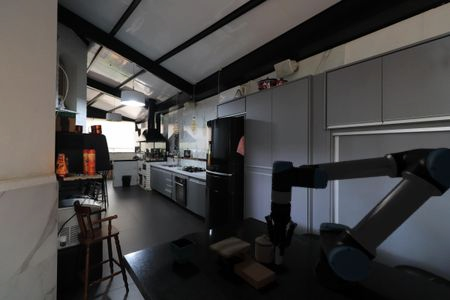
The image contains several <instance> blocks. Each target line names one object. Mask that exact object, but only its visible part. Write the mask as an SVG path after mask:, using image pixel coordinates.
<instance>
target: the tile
mask: <svg viewBox="0 0 450 300" xmlns="http://www.w3.org/2000/svg"><path fill="white" fill-rule="evenodd" d="M233 267H234V268H233V272H234V273H235V274H236V275H238V276H239V277H240V278H241V279H243V280H244V281H245V282H246V283H248V284H250V285H251V286H252V287H253V288H255V289H256V290H260V289H262V288H263V287H265V286H267V285H269V284H271V283H273V282H274V281H275V279H276V277H275V276H276V273H275V271H273V270H271V269H269V268H268V267H266V266H264V265H263V264H262V263H261V262H258V261H257V260H256V259H253V258H252V257H251V258H250V259H248V260H245V261H244V260H242V261H241V262H238V263H236V264H234V265H233Z"/></svg>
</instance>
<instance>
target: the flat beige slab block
mask: <svg viewBox="0 0 450 300" xmlns="http://www.w3.org/2000/svg"><path fill="white" fill-rule="evenodd" d="M208 249H209V250H211V251H213V252H214V261H215V262H217V263H220V262H222V257H224V258H226V259H227V260H228V259H230V258H232V257H234V256H235V257H237V258H239V259H240V260H242V261H245V260H248V259H250V258H251V259H252V244H251V243H248V242H247V241H244V240H242V239H240V238H237V237H235V236H230V237H228V238H226V239H223V240H221V241H219V242H216V243H213V244H210V245H208Z"/></svg>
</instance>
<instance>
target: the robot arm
mask: <svg viewBox="0 0 450 300" xmlns="http://www.w3.org/2000/svg"><path fill="white" fill-rule="evenodd" d="M271 168H272V170H271V193H270V200H271V201H270V212H269V214H268V215H266V216H264V219H265V222H266V227H267V231H268V232H267V235H268V238H269V241H270V242H272V243H273V254H275V255H274V264H276V265H277V266H279V265H281V264H282V263H283V257H284V256H285V249H287V248H288V247H290V246H291V243H292V238H293V235H294V232H295V230H296V228H297V227H298V223H297V222H294V221H293V220H292V216H291V214H292V203H291V202H292V193H293V192H292V191H293V188H303V189H304V188H305V189H315V190H325V189H327V187H328V183H329V182H331V181H341V180H342V181H343V180H345V181H346V180H354V179H355V180H357V179H368V178H377V177H379V178H380V177H389V178H390V179H397V178H399V179H400V178H401V180H400V181H399V182H398V183H397V184H396V185H394V187H393V188H391V190H390V191H389V192H388V193H387V194H386V195H385V196H384V197H383V198H381V200H380V201H378V203H377V204H376V205H374V207H373V208H372V209H370V211H369V212H367V214H365V215H364V216H363V217H362V218H361V220H359V221H358V223H357V224H355V225H354V227H352V228H351V227H350V226H348V225H346V224H343V223H342V224H341V223H337V222H321V223H320V225H319V229H318V231H319V236H318V238H319V239H318V240H319V243H318V258H317V261H316V264H315V266H314V268H313V276H314V279H315V280H316V281H317V282H318V284H319V283H320V284H321V285H323V286H324V287H327V288H328V289H330V290H333V291H338V292H339V291H340V292H349V291H352V290H354V289H355V287H356V285H355V284H356V283H355V282H360V281H363V280H365V279H366V278H367V277H368V276H369V275H370V274H371V270H372V269H371V267H372V265H371V262H372V261H373V260H374V259H376V258H377V255H378V254H377V248H378V247H380V245H382V244H383V243H384V242H385V241H386V240H387V239H388V238H389V237H390V236H392V234H393V233H395V231H397V229H399V228H400V227H401V226H402V225H404V223H405V222H406V221H407V220H408V219H409V218H411V216H413V215H414V214H415V212H417V211H418V210H419V209H420V208H421V207H422V206H423V205H425V203H427V201H429V200H430V198H432V197H433V198H434V197H441V196H443V195H444V194H446V192H447V191H449V190H450V148H448V147H437V148H433V147H432V148H427V147H426V148H423V147H419V148H414V149H408V150H404V151H397V152H391V153H386V154H385V155H384V156H380V157H378V156H377V157H368V158H361V159H349V160H343V161H341V160H340V161H332V162H325V163H323V162H322V163H316V164H315V163H314V164H301V165H299V166H294V162H292V161H288V160H287V161H286V160H275V161H274V162H273V163H272V167H271ZM287 227H288V230H287Z"/></svg>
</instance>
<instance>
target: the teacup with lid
mask: <svg viewBox="0 0 450 300" xmlns="http://www.w3.org/2000/svg"><path fill="white" fill-rule="evenodd" d="M254 243H255V247H254V248H255V249H254V252H255V255H254V258H255V259H254V260H255V261H256V262H258V263H260V264H270V263H272V262H273V260H274V244H273V243H272V242H270V241H269V236H267V235H266V234H262V236H258V237H256V238H255V240H254Z"/></svg>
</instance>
